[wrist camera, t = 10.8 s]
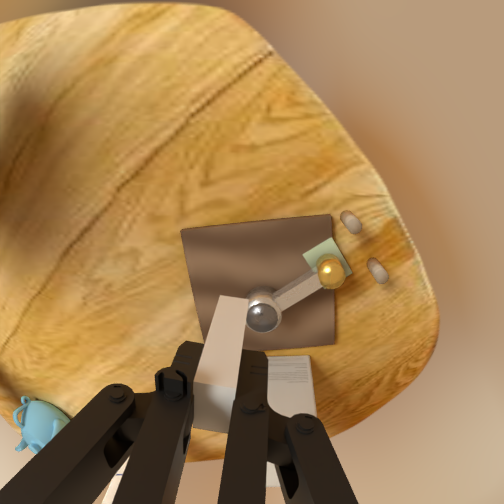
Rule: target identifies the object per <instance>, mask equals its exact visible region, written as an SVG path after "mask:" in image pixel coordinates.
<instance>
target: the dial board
mask: <svg viewBox="0 0 504 504" xmlns="http://www.w3.org/2000/svg"><path fill="white" fill-rule="evenodd" d="M340 218H341V221H342V222H343V223H344V225H345V226H346V227H347V229H348V230H349V231H350V232H351V233H352V234H357V233H359V232H360V231H361V229H362V224H361V222H360V221H359V220H358V219H357V218H356V217H355V216H354V215H353V214H352V213H351V212H350V211H344V212H342V213H341V216H340ZM180 232H181V237H182V242H183V247H184V253H185V258H186V263H187V267H188V272H189V277H190V282H191V287H192V291H193V296H194V300H195V305H196V309H197V314H198V318H199V323H200V327H201V331H202V335H203V339H204V344H205V342H206V339H207V335H208V332H209V329H210V326H211V323H212V319H213V316H214V313H215V310H216V307H217V303H218V300H219V297H220V295H222V296H229V297H236V298H243V299H246V297H247V295H248V293H249V292H250V291H251V290H252V289H254V288H256V287H259V286H267V287H271V288H273V289H274V290H276V291H278V290H279V289H281V288H282V287H284V286H286V285H287V284H289V283H290V282H292V281H294V280H295V279H297V278H298V277H300V276H302V275H303V274H305V273H306V272H308V271H310V270H311V269H313V268H314V267H316V261H317V259H318V258H319V257H320V256H321V255H323V254H327V253H330V254H334V255H335V256H337V257H338V259H339V261H340V263H341V265H342V267H343V269H344V271H345V277H347V276H349V275H350V274H352V271H351V269H350V267H349V266H348V264H347V262H346V260H345V259H344V257H343V255H342V254H341V252H340V250H339V248H338V247H337V245H336V243H335V242H334V240H333V238H332V222H331V215H330V214H325V215H314V216H302V217H292V218H281V219H271V220H261V221H251V222H241V223H232V224H222V225H213V226H204V227H195V228H187V229H182V230H181V231H180ZM367 267H368V269H369V270H370V272H371V273H372V275H373V276H374V278H375V280H376V281H377V282H378V283H379V284H384V283H386V282H387V281H388V279H389V275H388V273H387V272H386V271H385V269H384V268H383V267H382V265H381V264H380V263H379V261H378V260H377V259H376V258H370V259H369V260H368V261H367ZM334 341H335V312H334V289H327V288H324V287H321V288H320V289H318V290H316V291H315V292H313V293H312V294H310V295H308V296H307V297H305V298H303V299H302V300H300V301H298V302H297V303H295V304H293V305H292V306H290V307H288V308H287V309H285V310H283V311H282V318H281V322H280V324H279V326H278V327H277V328H276V329H274V330H272V331H270V332H266V333H259V332H255V331H253V330H251V329H250V328H248V327H247V326H246V324H245V331H244V338H243V345H242V349H246V350H253V351H261V350H277V349H290V348H302V347H313V346H323V345H333V344H334Z"/></svg>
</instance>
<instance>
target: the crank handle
mask: <svg viewBox="0 0 504 504" xmlns="http://www.w3.org/2000/svg"><path fill="white" fill-rule="evenodd" d="M344 281H345V271H344V269H343V267H342V265H341V263H340V261H339V259H338V257H337V256H335V255H334V254H330V253H327V254H323V255H321V256H320V257H319V258H318V259H317V261H316V267H314V268H313V269H311V270H310V271H308V272H306V273H305V274H303V275H302V276H300V277H298V278H297V279H295V280H294V281H292V282H290V283H289V284H287V285H286V286H284V287H282V288H281V289H279V290H278V291H276V290H274V289H273V288H271V287H267V286H259V287H256V288H254V289H252V290H251V291H250V292H249V293H248V295H247V297H246V299H249V303H248V310H247V317H246V326H247V327H248V328H250V329H251V330H253V331H255V332H259V333H266V332H270V331H272V330H274V329H276V328H277V327H278V326H279V324H280V322H281V318H282V311H283V310H285V309H287V308H288V307H290V306H292V305H293V304H295V303H297V302H298V301H300V300H302V299H303V298H305V297H307V296H308V295H310V294H312V293H313V292H315V291H316V290H318V289H320V288H321V287H324V288H327V289H336V288H338V287H340V286H341V285H342V284H343V283H344Z"/></svg>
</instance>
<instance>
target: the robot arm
mask: <svg viewBox="0 0 504 504" xmlns="http://www.w3.org/2000/svg"><path fill="white" fill-rule="evenodd" d="M248 303H249V299H243V298H236V297H229V296H222V295H220V297H219V300H218V303H217V307H216V310H215V313H214V316H213V319H212V323H211V326H210V329H209V332H208V335H207V339H206V342H205V344H202V343H196V342H190V341H185V342H184V343H183V344H181V345H180V346H179V348H178V350H177V352H176V356H175V357H174V360H173V362H172V365H171V367H167V368H163V369H161V370H159V371H158V372H157V373H156V374H155V385H156V391H153V392H150V393H134V392H133V391H132V389H131V388H130V387H128V386H127V385H124V384H111V385H108V386H106V387H105V388H103V389H102V390H101V391H100V392H99V393H98V394H97V395H96V396H95V397H94V398H93V399H92V400H91V401H90V402H89V403H88V404H87V405H86V406H85V407H84V408H83V409H82V410H81V411H80V412H79V413H78V414H77V415H76V416H75V417H74V418H73V419H72V420H71V421H70V422H69V423H68V424H67V425H66V426H64V427H63V428H62V429H61V430H60V431H59V432H58V433H57V434H56V435H55V436H54V437H53V438H52V439H51V440H50V441H49V442H48V443H47V444H46V445H45V446H44V447H43V448H42V449H41V450H40V451H39V452H38V453H37V454H36V455H35V456H34V457H33V458H32V459H31V460H30V461H29V462H28V463H27V464H26V465H25V466H24V467H23V468H22V469H21V470H20V471H19V472H18V473H17V474H16V475H15V476H14V477H13V478H12V479H11V480H10V481H9V482H8V483H7V484H6V485H5V486H4V487H3V488H2V489H1V490H0V504H92V503H93V502H94V501H95V500H96V498H97V497H98V496H99V495H100V493H101V492H102V490H104V488H105V487H106V486H107V484H108V483H109V482H110V481H111V479H112V478H113V477H114V476H115V474H116V473H117V472H118V470H119V469H120V468H121V467H122V465H123V464H124V463H125V461H126V460H127V459H128V458H129V459H128V462H127V465H126V467H125V470H124V472H123V475H122V478H121V480H120V483H119V486H118V488H117V491H116V494H115V496H114V499H113V502H112V504H175V499H176V495H177V491H178V487H179V483H180V479H181V475H182V471H183V467H184V463H185V459H186V455H187V451H188V447H189V443H190V439H191V427H192V424H193V428H198V429H203V430H209V431H215V432H222V433H228V438H227V445H226V451H225V458H224V464H223V471H222V477H221V484H220V490H219V497H218V504H265V496H266V474H267V462H270V463H273V464H274V466H275V469H276V473H277V476H278V480H279V483H280V486H281V490H282V493H283V496H284V500H285V503H286V504H358V502H357V500H356V497H355V495H354V493H353V490H352V488H351V486H350V484H349V481H348V479H347V477H346V475H345V473H344V471H343V468H342V466H341V464H340V461H339V459H338V457H337V455H336V453H335V450H334V448H333V446H332V444H331V441H330V439H329V437H328V435H327V433H326V430H325V428H324V426H323V424H322V422H321V421H320V420H319V419H318V418H317V417H315V416H314V415H311V414H308V413H299V414H295V415H293V416H292V417H291V418H290V417H287V416H284V415H281V414H279V413H277V412H275V411H274V410H273V409H272V408H271V407H270V406H269V404H268V400H267V394H268V361H269V360H268V358H267V356H266V354H265V353H264V352H261V351H253V350H246V349H242V345H243V338H244V331H245V324H246V317H247V310H248ZM129 456H130V457H129Z"/></svg>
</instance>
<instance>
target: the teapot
mask: <svg viewBox="0 0 504 504" xmlns="http://www.w3.org/2000/svg"><path fill="white" fill-rule="evenodd" d="M24 399H25V400H26V403H25V402H24ZM21 402H22V404H24V405H22V406H20V407H19V408H17V409H16V410H15V411H14V413H13V419H14V422H15V423H16V425H17V426H19V427H20V428H21V434H22V437H23V438H22V441H21V442H20V444H19V445H18V446H17V447H16V448H15V450H16V451H22V450H23V449H25V448H26V447H27V446H28V445H29V446H28V447H29V449H30V450H31V451H32V452H33V453H35V454H37V453H38V452H39V451H40V450H41V449H42V448H43V447H44V446H45V445H46V444H47V443H48V442H49V441H50V440H51V439H52V438H53V437H54V436H55V435H56V434H57V433H58V432H59V431H60V430H61V429H62V428H63V427H64V426H66V425H67V424H68V423H69V422H70V419H69V418H68V417H67V416H66V415H65V414H64V413H63V412H62V411H60V410H59V409H58V408H56V407H55V406H53V405H52V404H50V403H48V402H45V401H39V400H36V401H31V400H30V398H29V397H27V396H22V397H21ZM23 409H24V410H23ZM22 410H23V413H22V417H21V423H20V422H19V420H18V418H17V415H18V413H19V412H20V411H22Z"/></svg>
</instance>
